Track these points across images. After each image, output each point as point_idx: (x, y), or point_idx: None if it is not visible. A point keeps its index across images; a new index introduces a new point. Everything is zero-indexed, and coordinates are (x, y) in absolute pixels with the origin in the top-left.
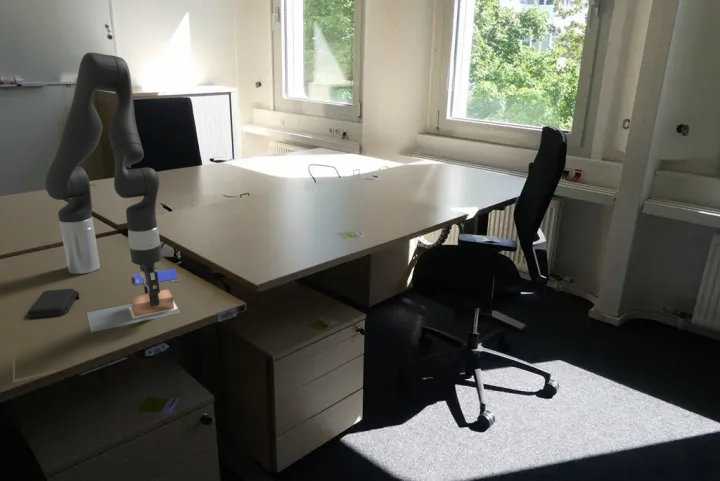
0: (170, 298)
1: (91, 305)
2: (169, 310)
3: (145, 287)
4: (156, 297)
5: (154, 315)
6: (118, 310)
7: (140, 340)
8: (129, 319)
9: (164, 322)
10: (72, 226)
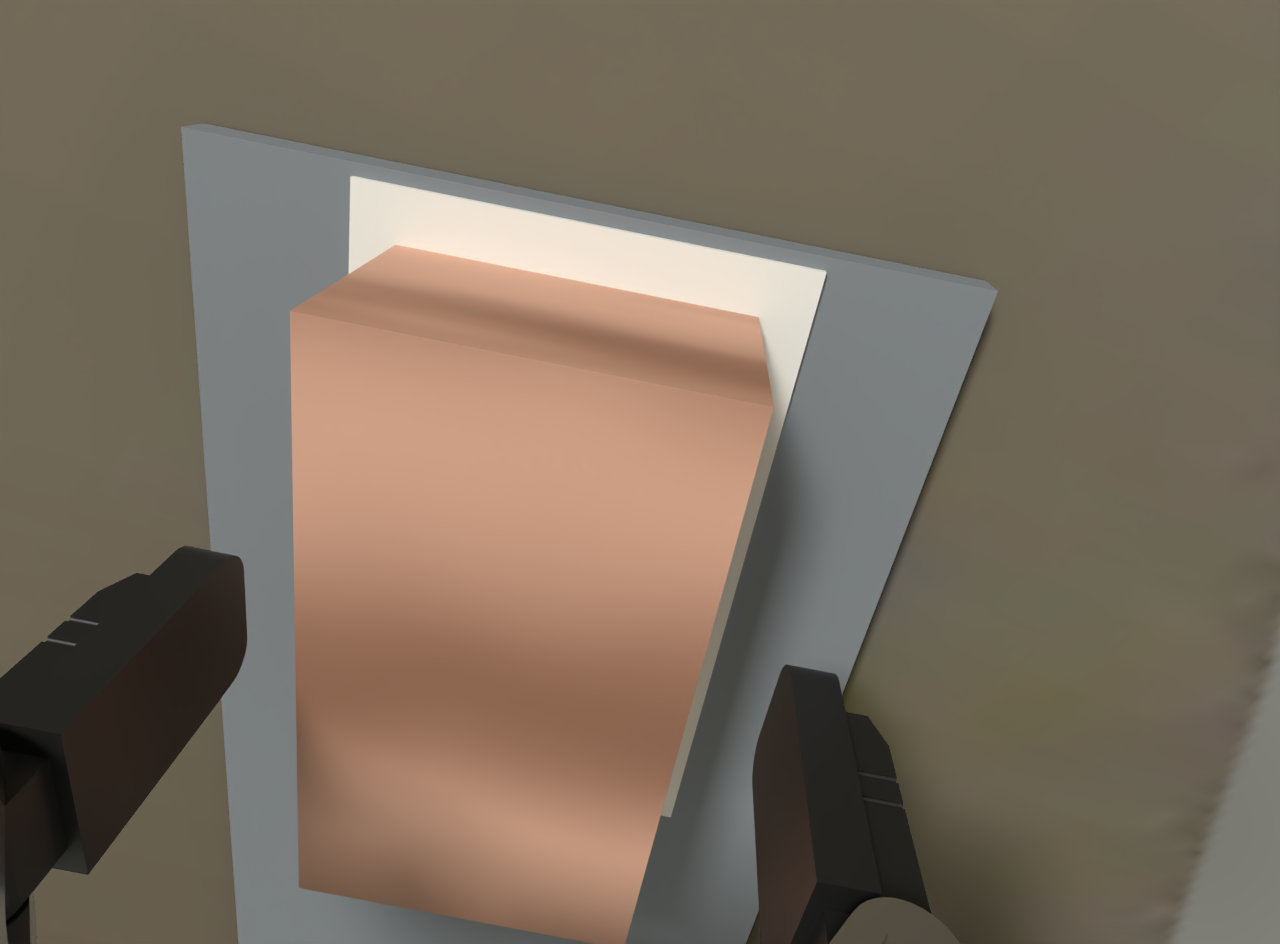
0: (762, 443)
1: (45, 911)
2: (781, 407)
3: (165, 757)
4: (906, 864)
5: (769, 618)
6: None
7: (1184, 886)
8: (661, 838)
9: (1011, 564)
10: None
